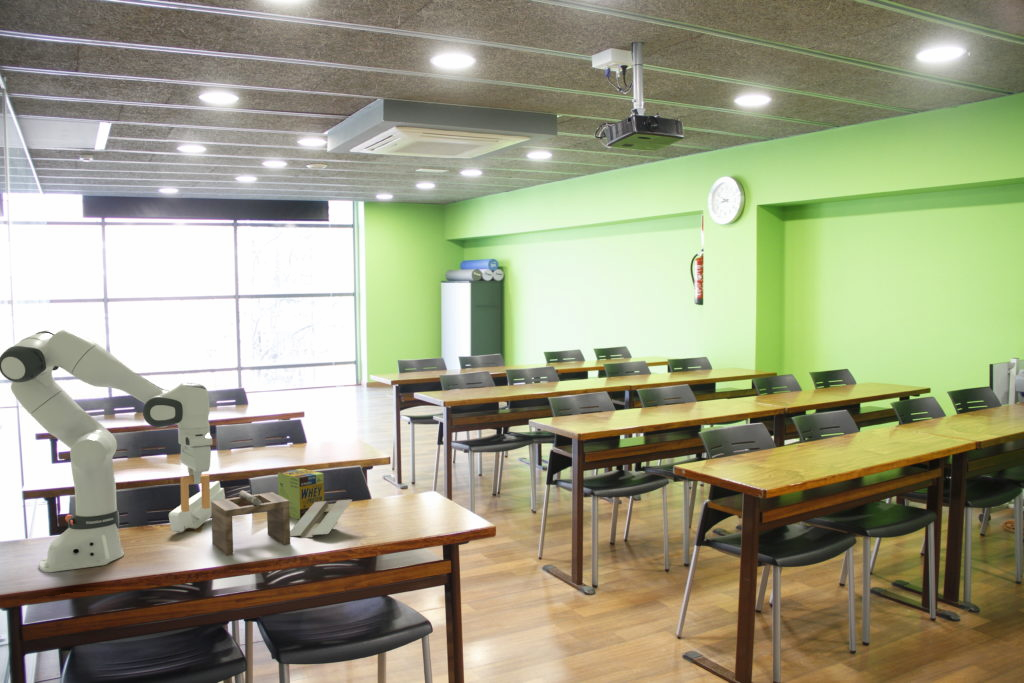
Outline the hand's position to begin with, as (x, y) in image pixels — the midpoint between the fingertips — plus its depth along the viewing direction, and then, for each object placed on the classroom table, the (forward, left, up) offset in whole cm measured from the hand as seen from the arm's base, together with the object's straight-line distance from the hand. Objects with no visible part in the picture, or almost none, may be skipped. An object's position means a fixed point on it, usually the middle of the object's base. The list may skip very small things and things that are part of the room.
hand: (194, 482), depth 233 cm
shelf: (+18, +6, -24) cm, 30 cm away
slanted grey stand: (+41, +4, -24) cm, 48 cm away
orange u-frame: (0, 0, -8) cm, 8 cm away
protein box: (+45, +33, -24) cm, 61 cm away
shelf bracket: (+11, +42, -24) cm, 50 cm away
